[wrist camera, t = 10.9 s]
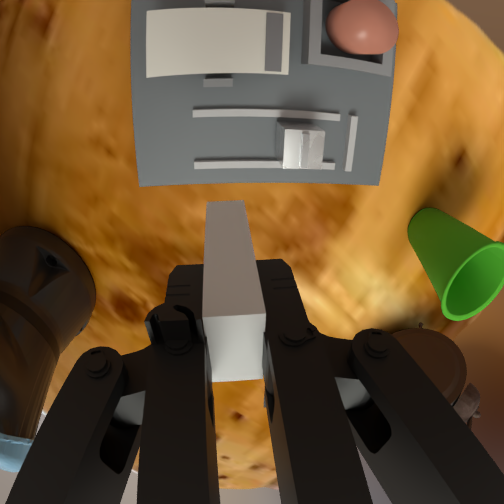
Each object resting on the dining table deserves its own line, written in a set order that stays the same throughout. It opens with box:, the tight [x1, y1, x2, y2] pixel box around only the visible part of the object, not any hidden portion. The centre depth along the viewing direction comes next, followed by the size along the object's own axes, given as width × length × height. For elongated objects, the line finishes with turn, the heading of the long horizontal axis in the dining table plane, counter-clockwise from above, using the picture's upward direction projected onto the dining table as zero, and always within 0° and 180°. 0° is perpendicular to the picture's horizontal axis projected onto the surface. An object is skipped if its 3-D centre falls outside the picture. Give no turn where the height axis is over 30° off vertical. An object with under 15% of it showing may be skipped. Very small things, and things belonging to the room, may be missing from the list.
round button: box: [325, 0, 399, 55], centre depth 17 cm, size 4×4×3 cm
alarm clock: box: [391, 323, 481, 430], centre depth 35 cm, size 15×7×20 cm, turn 102°
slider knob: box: [275, 121, 325, 169], centre depth 24 cm, size 3×3×4 cm
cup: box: [408, 208, 504, 321], centre depth 28 cm, size 9×9×11 cm
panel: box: [131, 0, 397, 187], centre depth 21 cm, size 22×18×4 cm
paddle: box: [146, 8, 291, 78], centre depth 18 cm, size 10×5×1 cm, turn 89°
